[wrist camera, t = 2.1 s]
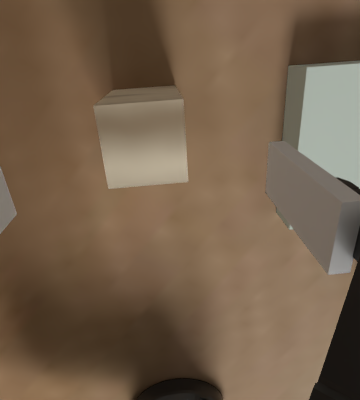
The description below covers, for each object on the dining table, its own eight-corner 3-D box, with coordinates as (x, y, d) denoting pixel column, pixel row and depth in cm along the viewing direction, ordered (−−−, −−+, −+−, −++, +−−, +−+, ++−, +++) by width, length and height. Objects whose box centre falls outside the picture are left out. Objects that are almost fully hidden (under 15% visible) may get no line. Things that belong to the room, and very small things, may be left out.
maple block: (179, 145, 32) (188, 181, 23) (122, 150, 32) (108, 188, 23) (175, 85, 29) (183, 99, 20) (112, 90, 29) (93, 105, 20)
